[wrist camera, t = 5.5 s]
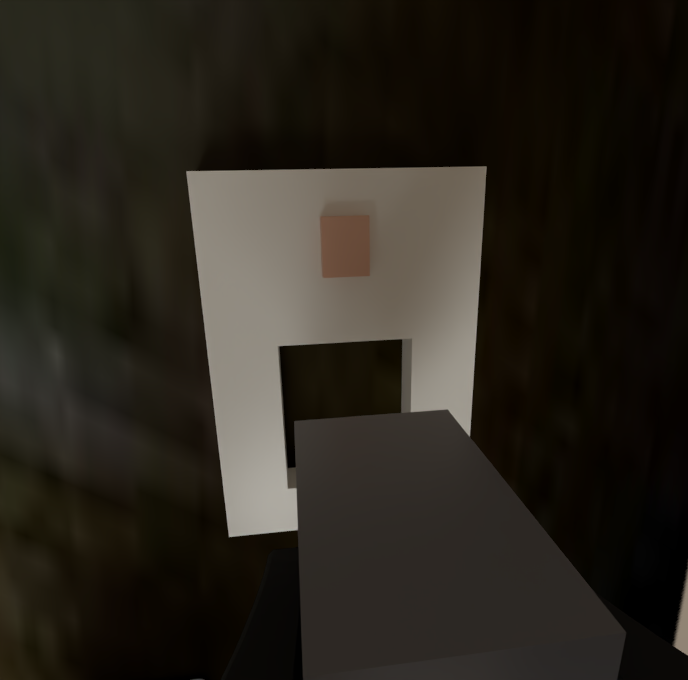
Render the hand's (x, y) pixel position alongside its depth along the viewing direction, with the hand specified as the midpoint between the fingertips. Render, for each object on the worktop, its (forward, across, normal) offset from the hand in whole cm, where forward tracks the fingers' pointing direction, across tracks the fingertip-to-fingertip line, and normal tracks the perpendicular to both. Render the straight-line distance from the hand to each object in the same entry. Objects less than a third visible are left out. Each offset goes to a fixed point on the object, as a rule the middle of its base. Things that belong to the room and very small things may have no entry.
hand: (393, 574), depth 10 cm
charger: (+2, 0, 0) cm, 3 cm away
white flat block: (+9, 0, -2) cm, 10 cm away
